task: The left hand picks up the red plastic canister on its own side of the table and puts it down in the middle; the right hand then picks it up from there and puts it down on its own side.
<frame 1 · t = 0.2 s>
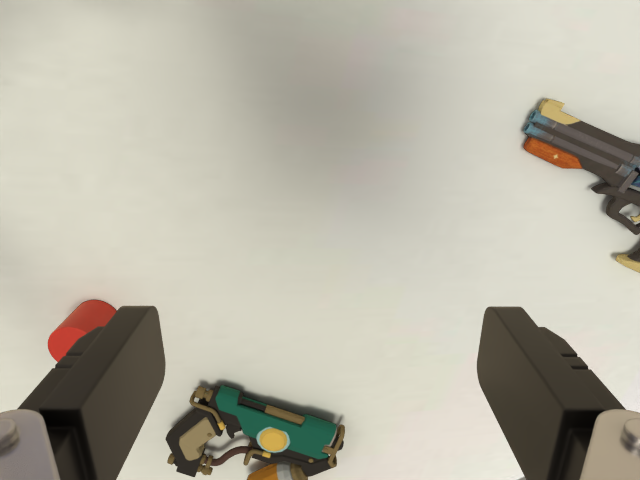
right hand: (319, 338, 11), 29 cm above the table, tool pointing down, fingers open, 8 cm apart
toy gun: (601, 191, 40), on the table
spray gun: (255, 431, 50), on the table
canister: (98, 319, 45), on the table
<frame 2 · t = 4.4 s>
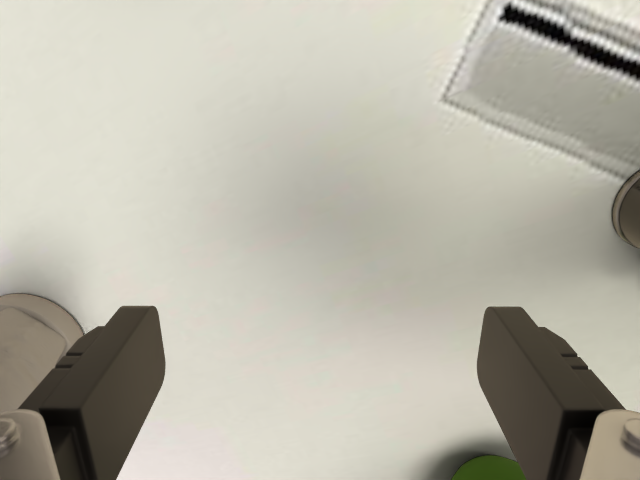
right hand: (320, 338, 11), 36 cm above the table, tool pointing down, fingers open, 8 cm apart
bust sculpture: (34, 312, 52), on the table
vase: (484, 475, 61), on the table
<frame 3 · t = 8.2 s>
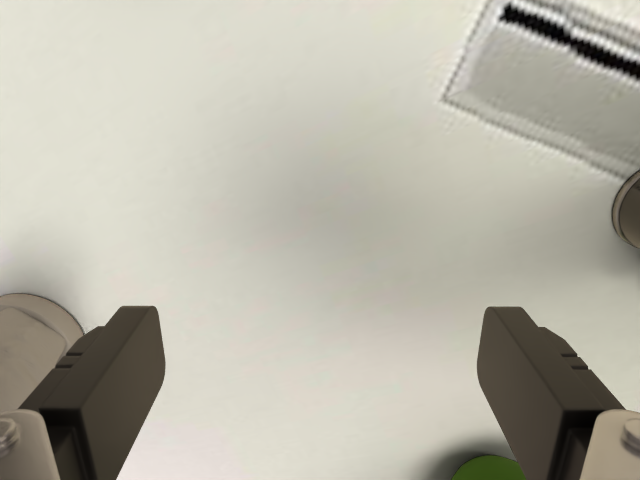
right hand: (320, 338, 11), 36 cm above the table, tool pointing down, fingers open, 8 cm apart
bust sculpture: (34, 312, 52), on the table
vase: (484, 475, 61), on the table
when the left hand's fingers open (2 cm above the table, at t = 12.2 s): canister stays where it is, on the table.
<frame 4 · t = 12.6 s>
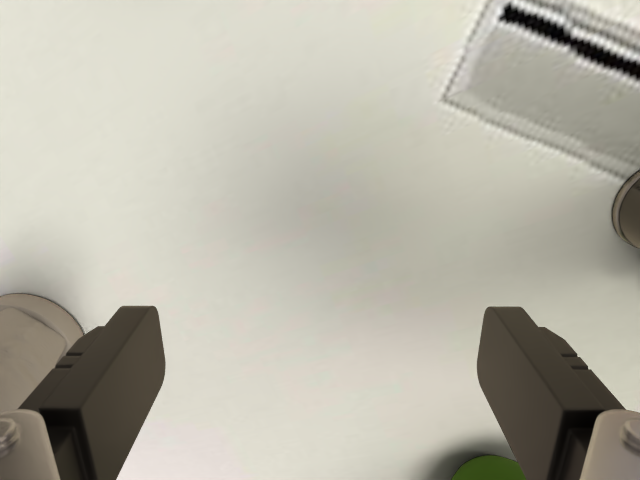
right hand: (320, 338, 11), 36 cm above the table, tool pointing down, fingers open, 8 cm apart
bust sculpture: (34, 312, 52), on the table
vase: (484, 475, 61), on the table
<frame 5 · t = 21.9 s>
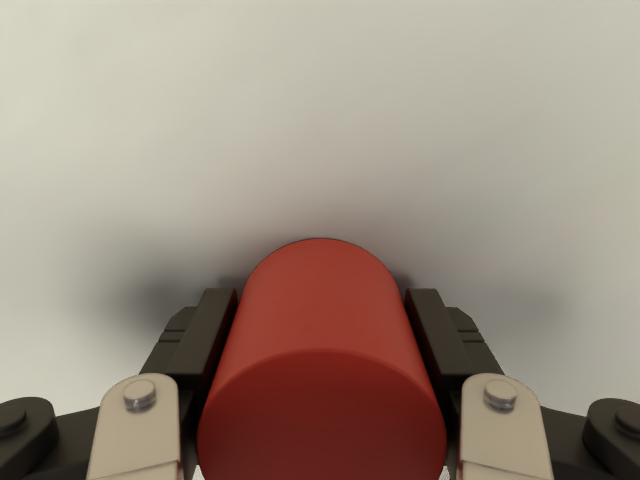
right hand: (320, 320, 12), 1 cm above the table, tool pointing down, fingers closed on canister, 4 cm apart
canister: (321, 312, 13), on the table, touching right hand
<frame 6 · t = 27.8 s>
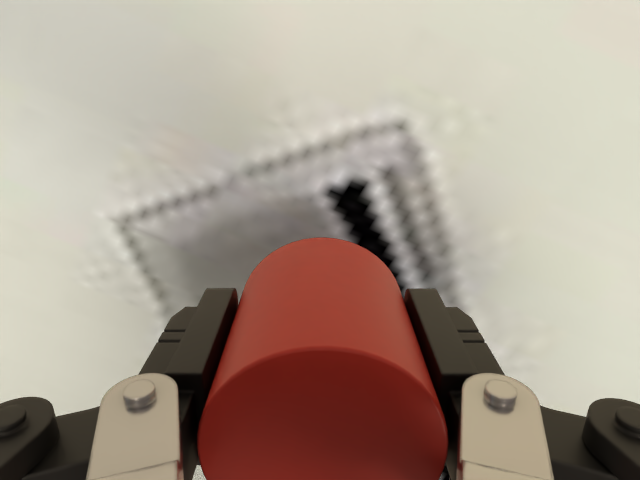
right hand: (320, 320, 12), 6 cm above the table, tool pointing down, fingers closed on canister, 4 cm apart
canister: (321, 311, 13), point 6 cm above the table, touching right hand
when the right hand's fingers open (1 cm above the table, at t = 33.8 s): canister stays where it is, on the table.
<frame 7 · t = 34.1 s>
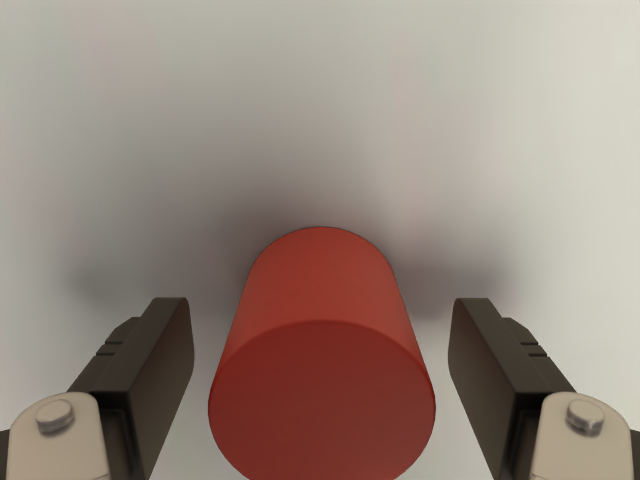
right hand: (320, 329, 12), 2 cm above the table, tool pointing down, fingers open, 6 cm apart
canister: (321, 297, 13), on the table
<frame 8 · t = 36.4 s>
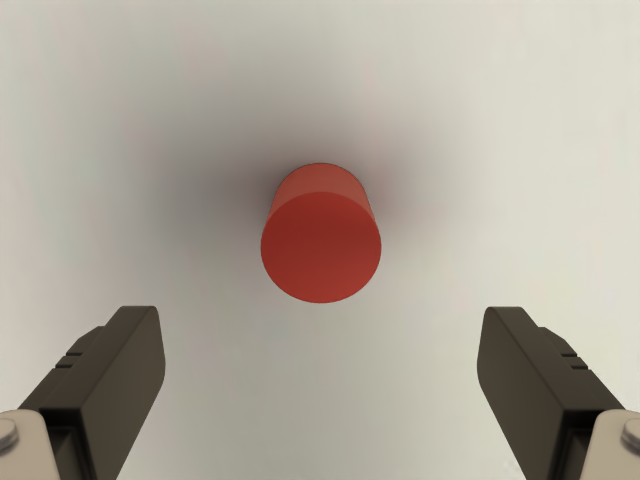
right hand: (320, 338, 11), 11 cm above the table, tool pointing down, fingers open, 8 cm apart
canister: (320, 210, 21), on the table
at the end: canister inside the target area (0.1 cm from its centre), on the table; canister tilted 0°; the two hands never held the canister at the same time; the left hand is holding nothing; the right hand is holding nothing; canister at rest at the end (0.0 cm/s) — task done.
